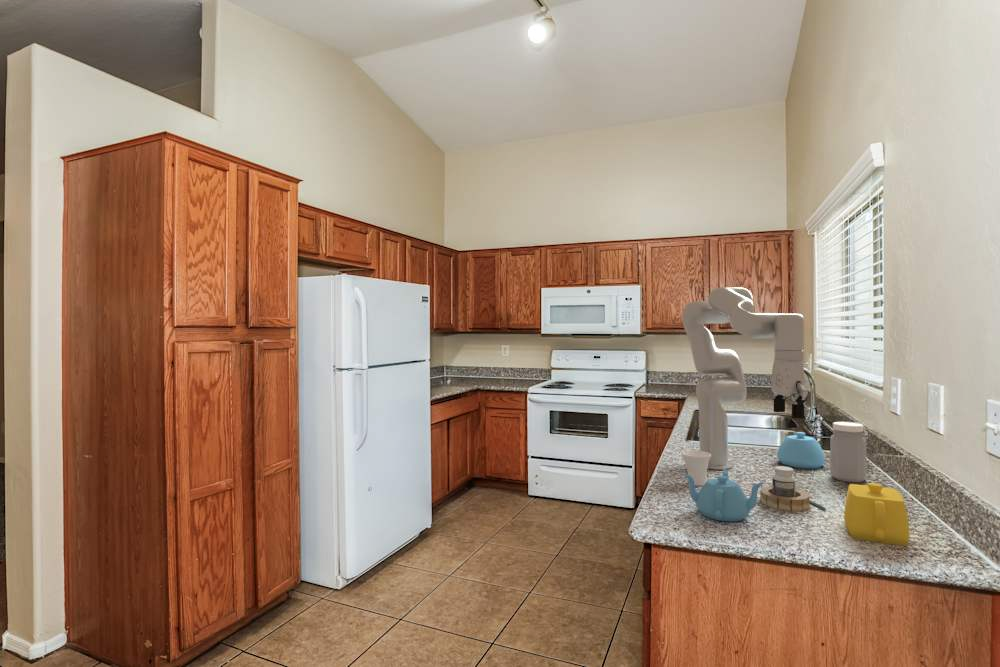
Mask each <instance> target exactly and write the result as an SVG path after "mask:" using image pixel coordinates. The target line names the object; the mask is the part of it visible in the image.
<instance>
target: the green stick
mask: <svg viewBox="0 0 1000 667" xmlns="http://www.w3.org/2000/svg"><path fill="white" fill-rule="evenodd" d="M809 504H812V505H813V506H816V507H818V508H819V509H821V510H823V511H826V510H827V509H826V507H824V506H823V505H821V504H818V503H817V502H815V501H813V500H811V499H809Z"/></svg>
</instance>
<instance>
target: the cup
mask: <svg viewBox="0 0 1000 667" xmlns="http://www.w3.org/2000/svg"><path fill="white" fill-rule="evenodd" d="M681 456H682V458H683V460H684V462H685V466H686V469H687V474H688V475H690V476H692V477H693V479H694V484H695V487H703V485H704V484H705V483H706V482H707V481H708V479H707V474H708V473H707V472H708V469H707V467H708V462H709V459H710V457H711V454H710V453H708V452H704V451H700V450H696V449H695V450H694V449H693V450H687V449H684V450H683V451H682V452H681ZM687 482H688V483H689V481H688V480H687Z"/></svg>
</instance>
